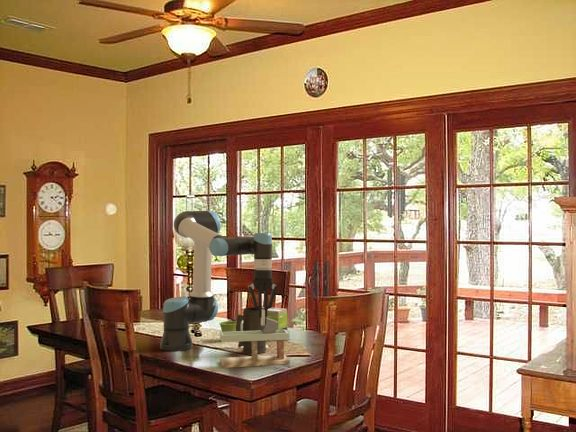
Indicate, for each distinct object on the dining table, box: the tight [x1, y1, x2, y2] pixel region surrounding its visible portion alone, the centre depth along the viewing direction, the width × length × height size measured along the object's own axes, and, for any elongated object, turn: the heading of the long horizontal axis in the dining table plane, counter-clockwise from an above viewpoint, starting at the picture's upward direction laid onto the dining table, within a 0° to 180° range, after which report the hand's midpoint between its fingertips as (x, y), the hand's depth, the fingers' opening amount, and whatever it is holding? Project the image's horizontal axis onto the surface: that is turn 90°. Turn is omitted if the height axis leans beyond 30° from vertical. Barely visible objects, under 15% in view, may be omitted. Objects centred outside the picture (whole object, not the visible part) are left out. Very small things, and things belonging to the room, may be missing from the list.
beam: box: [219, 330, 290, 343], centre depth 259 cm, size 28×8×3 cm, turn 101°
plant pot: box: [219, 320, 237, 332], centre depth 308 cm, size 9×9×9 cm
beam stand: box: [219, 340, 291, 369], centre depth 259 cm, size 28×11×10 cm, turn 101°
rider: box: [261, 318, 279, 334], centre depth 260 cm, size 5×5×6 cm
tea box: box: [262, 306, 288, 332], centre depth 313 cm, size 15×10×15 cm, turn 62°
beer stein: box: [236, 306, 267, 354], centre depth 279 cm, size 15×11×20 cm
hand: (262, 325), depth 259 cm, fingers closed
